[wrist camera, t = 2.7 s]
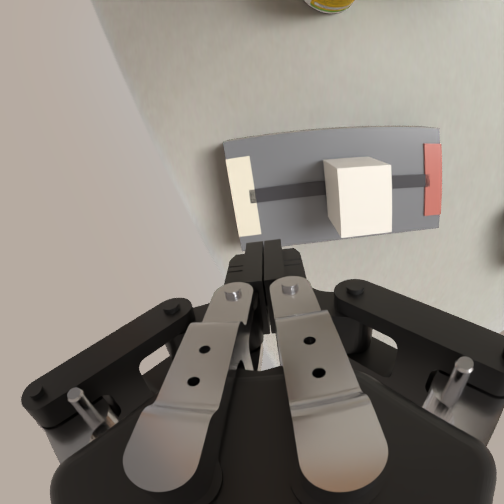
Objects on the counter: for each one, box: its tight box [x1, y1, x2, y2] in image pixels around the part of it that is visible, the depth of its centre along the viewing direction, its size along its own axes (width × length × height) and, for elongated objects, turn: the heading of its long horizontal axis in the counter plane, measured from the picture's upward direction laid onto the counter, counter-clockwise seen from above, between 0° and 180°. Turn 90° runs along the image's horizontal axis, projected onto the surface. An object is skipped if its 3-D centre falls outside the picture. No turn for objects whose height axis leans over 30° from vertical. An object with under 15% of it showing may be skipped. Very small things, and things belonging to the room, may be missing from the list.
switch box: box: [223, 126, 442, 251], centre depth 26 cm, size 20×10×4 cm, turn 99°
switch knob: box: [323, 157, 392, 238], centre depth 21 cm, size 4×5×5 cm
